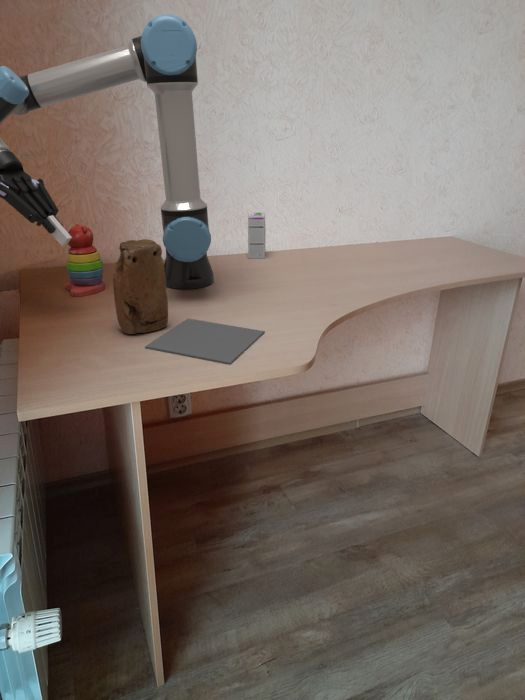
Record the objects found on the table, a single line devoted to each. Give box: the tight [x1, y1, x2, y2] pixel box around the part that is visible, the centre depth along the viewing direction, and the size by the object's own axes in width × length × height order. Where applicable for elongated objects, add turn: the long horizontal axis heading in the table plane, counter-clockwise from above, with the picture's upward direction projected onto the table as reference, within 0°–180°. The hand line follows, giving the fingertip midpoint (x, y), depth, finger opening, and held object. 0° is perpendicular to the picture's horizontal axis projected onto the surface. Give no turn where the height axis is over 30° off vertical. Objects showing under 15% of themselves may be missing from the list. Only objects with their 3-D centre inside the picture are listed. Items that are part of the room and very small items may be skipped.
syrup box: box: [247, 212, 266, 260], centre depth 180 cm, size 6×6×14 cm
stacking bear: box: [64, 223, 105, 297], centre depth 144 cm, size 11×10×18 cm
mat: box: [144, 318, 266, 365], centre depth 116 cm, size 18×20×1 cm
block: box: [112, 238, 169, 335], centre depth 118 cm, size 11×8×20 cm
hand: (66, 241), depth 121 cm, fingers closed
